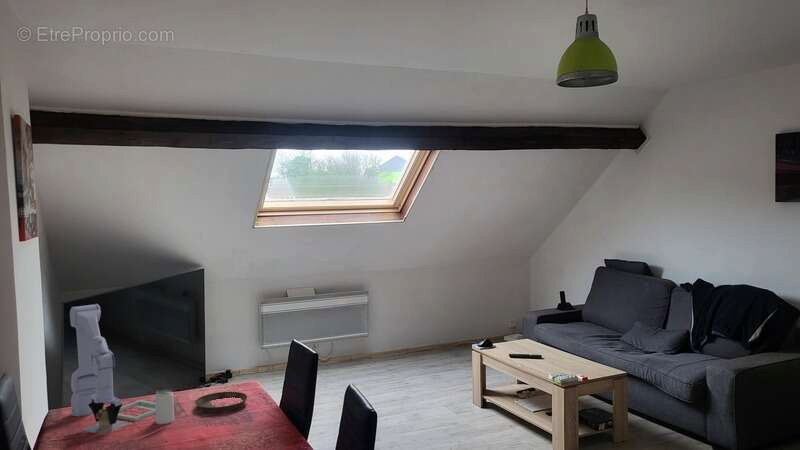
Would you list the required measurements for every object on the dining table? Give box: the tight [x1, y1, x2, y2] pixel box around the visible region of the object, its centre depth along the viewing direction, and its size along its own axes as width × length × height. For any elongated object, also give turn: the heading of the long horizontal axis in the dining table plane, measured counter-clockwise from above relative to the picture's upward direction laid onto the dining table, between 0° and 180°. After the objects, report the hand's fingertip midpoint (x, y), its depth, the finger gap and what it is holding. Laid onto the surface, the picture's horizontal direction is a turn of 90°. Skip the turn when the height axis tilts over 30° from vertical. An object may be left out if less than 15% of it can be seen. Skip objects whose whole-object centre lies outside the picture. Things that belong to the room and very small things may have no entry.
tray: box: [117, 399, 156, 422], centre depth 237 cm, size 16×16×2 cm
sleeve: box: [96, 408, 113, 429], centre depth 221 cm, size 4×6×6 cm
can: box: [154, 388, 175, 426], centre depth 226 cm, size 6×6×12 cm
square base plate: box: [80, 420, 132, 436], centre depth 221 cm, size 12×12×6 cm
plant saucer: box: [194, 391, 248, 413], centre depth 244 cm, size 21×21×3 cm
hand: (105, 422), depth 221 cm, fingers open, 7 cm apart
